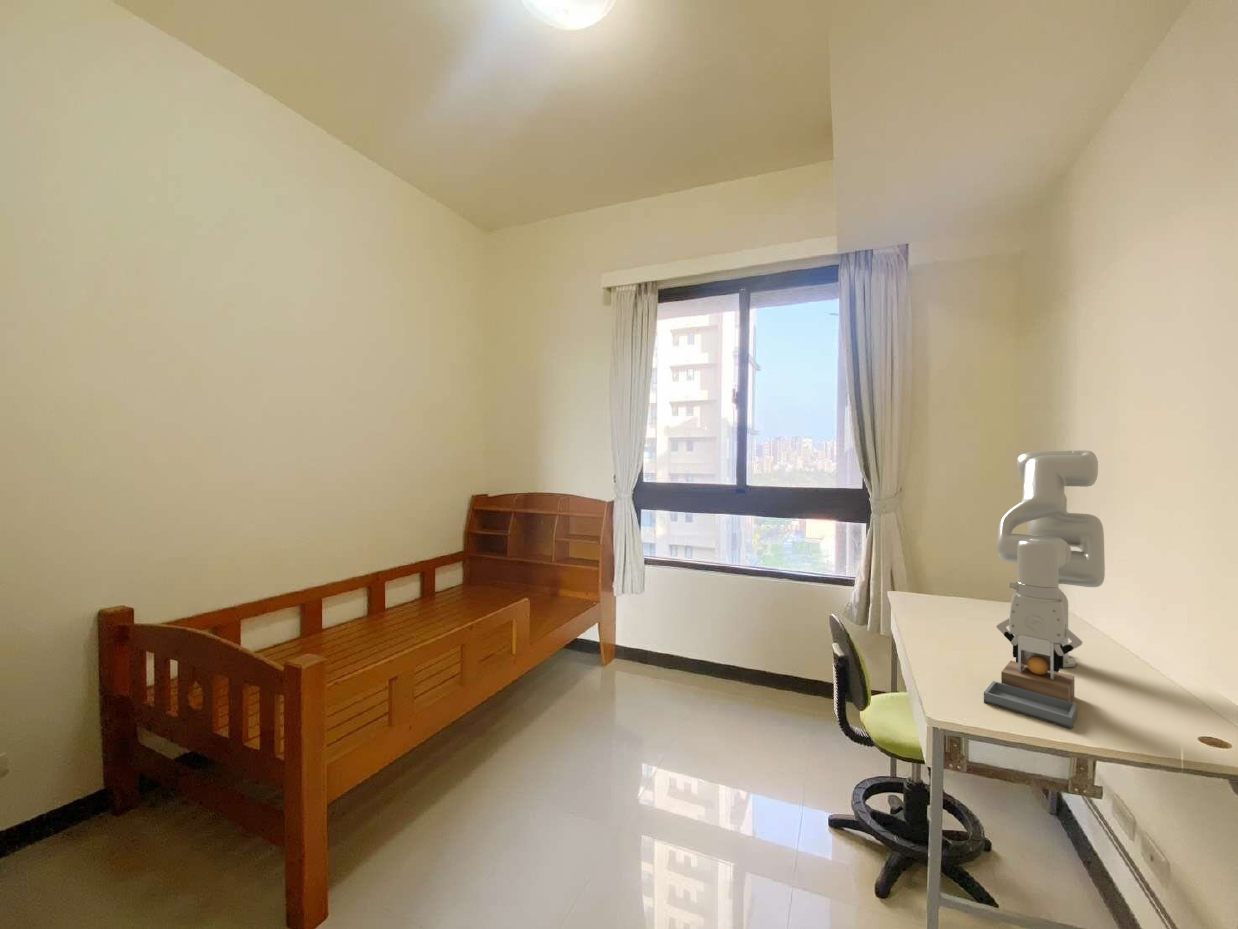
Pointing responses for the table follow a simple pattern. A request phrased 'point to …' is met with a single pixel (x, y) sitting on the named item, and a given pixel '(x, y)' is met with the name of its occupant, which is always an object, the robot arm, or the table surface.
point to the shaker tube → (1035, 652)
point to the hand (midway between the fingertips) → (1037, 665)
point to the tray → (1031, 704)
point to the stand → (1039, 682)
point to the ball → (1037, 665)
